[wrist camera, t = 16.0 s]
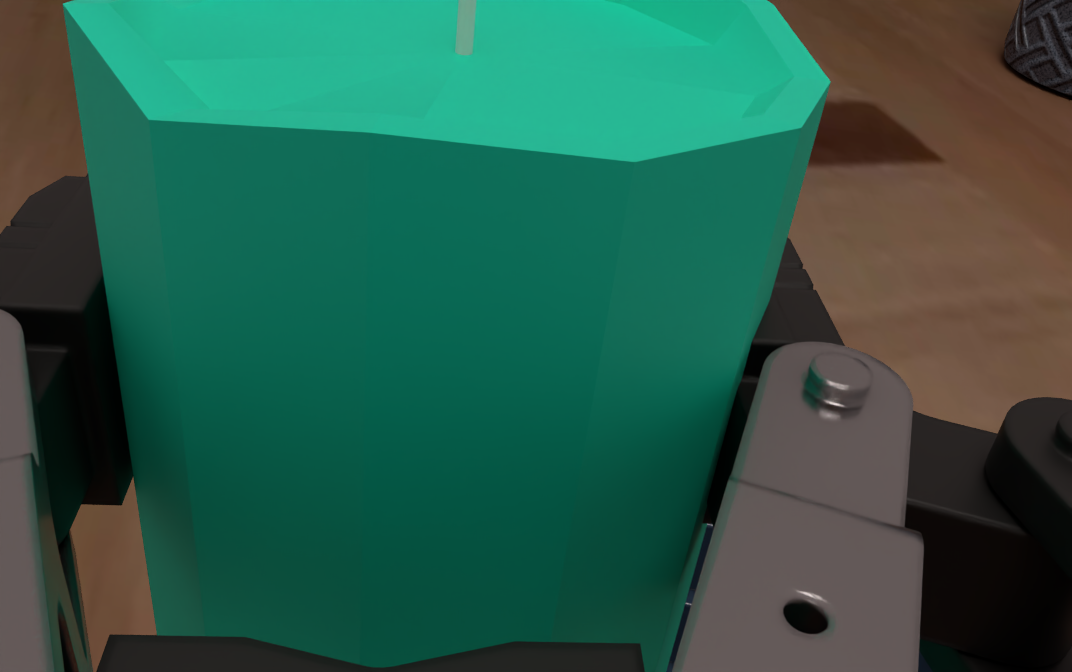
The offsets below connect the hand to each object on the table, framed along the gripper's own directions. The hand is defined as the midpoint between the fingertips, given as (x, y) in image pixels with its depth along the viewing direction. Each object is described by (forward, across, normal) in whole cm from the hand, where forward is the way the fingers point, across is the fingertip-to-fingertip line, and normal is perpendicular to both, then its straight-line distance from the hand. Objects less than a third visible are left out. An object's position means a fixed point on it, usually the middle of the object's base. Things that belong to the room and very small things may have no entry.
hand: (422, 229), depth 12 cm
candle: (-3, 0, +7) cm, 8 cm away
